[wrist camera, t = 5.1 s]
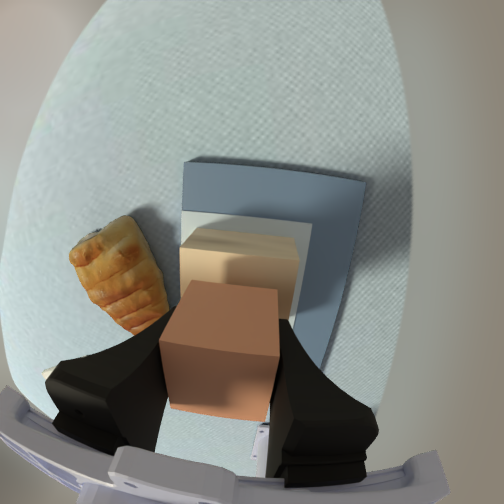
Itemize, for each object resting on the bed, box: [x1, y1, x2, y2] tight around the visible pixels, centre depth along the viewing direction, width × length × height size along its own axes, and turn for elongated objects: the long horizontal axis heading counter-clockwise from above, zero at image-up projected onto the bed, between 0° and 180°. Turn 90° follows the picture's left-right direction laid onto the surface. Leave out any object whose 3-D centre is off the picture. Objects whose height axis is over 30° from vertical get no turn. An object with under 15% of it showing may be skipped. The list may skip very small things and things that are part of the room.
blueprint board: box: [181, 162, 366, 403], centre depth 19 cm, size 20×11×1 cm, turn 175°
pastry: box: [69, 215, 170, 335], centre depth 18 cm, size 9×7×4 cm
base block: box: [180, 228, 300, 321], centre depth 16 cm, size 6×6×4 cm
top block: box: [159, 280, 280, 422], centre depth 11 cm, size 4×4×4 cm
